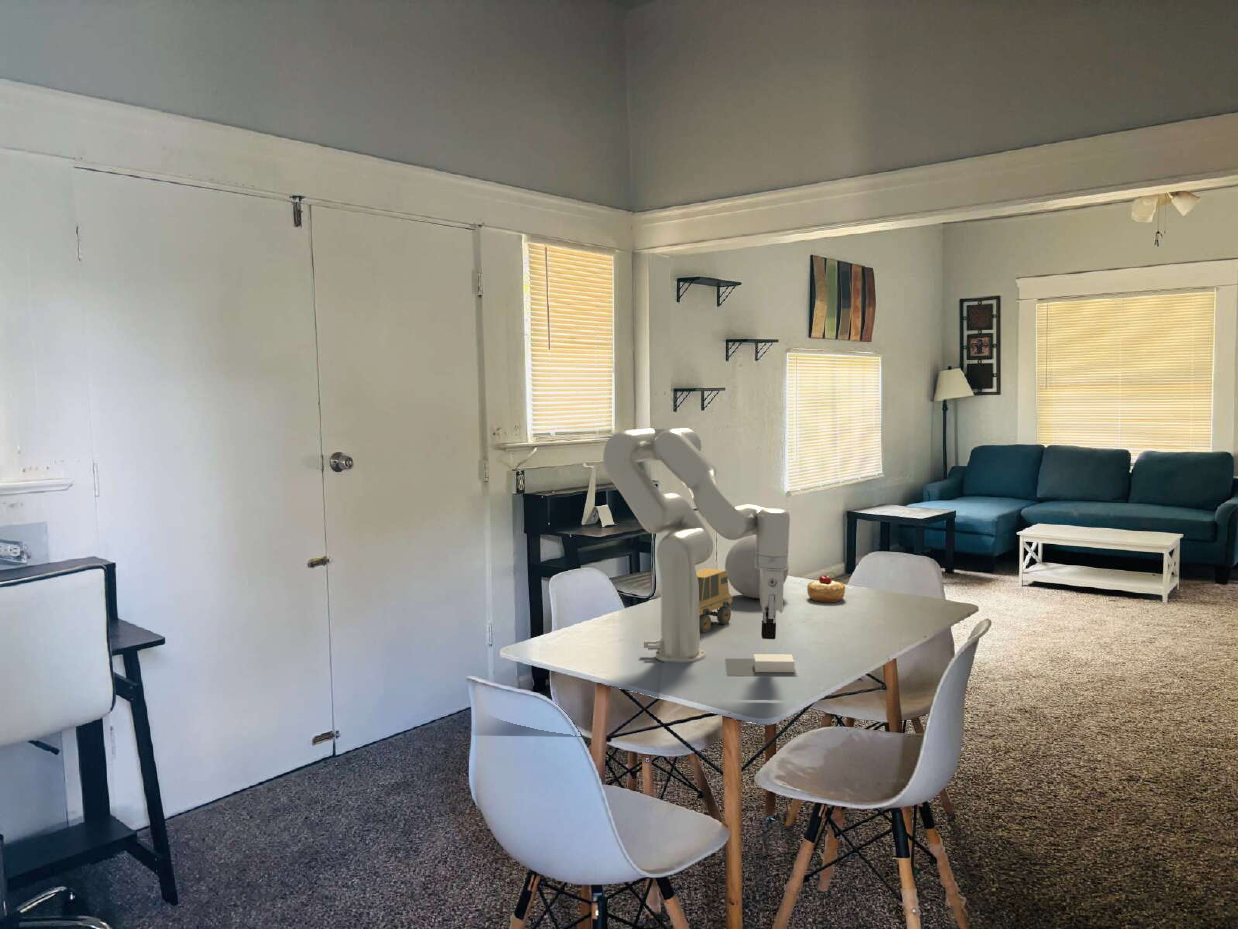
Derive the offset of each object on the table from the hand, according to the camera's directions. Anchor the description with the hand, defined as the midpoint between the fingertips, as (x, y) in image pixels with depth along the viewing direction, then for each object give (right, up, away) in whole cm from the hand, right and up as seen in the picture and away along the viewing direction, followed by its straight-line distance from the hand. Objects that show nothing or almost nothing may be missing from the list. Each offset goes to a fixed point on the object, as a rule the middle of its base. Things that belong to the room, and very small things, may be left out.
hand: (768, 638), depth 219 cm
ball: (+9, -2, +78) cm, 79 cm away
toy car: (-12, -5, +44) cm, 46 cm away
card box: (+1, -6, +3) cm, 6 cm away
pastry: (+30, -2, +74) cm, 80 cm away
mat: (-2, -8, +1) cm, 8 cm away
